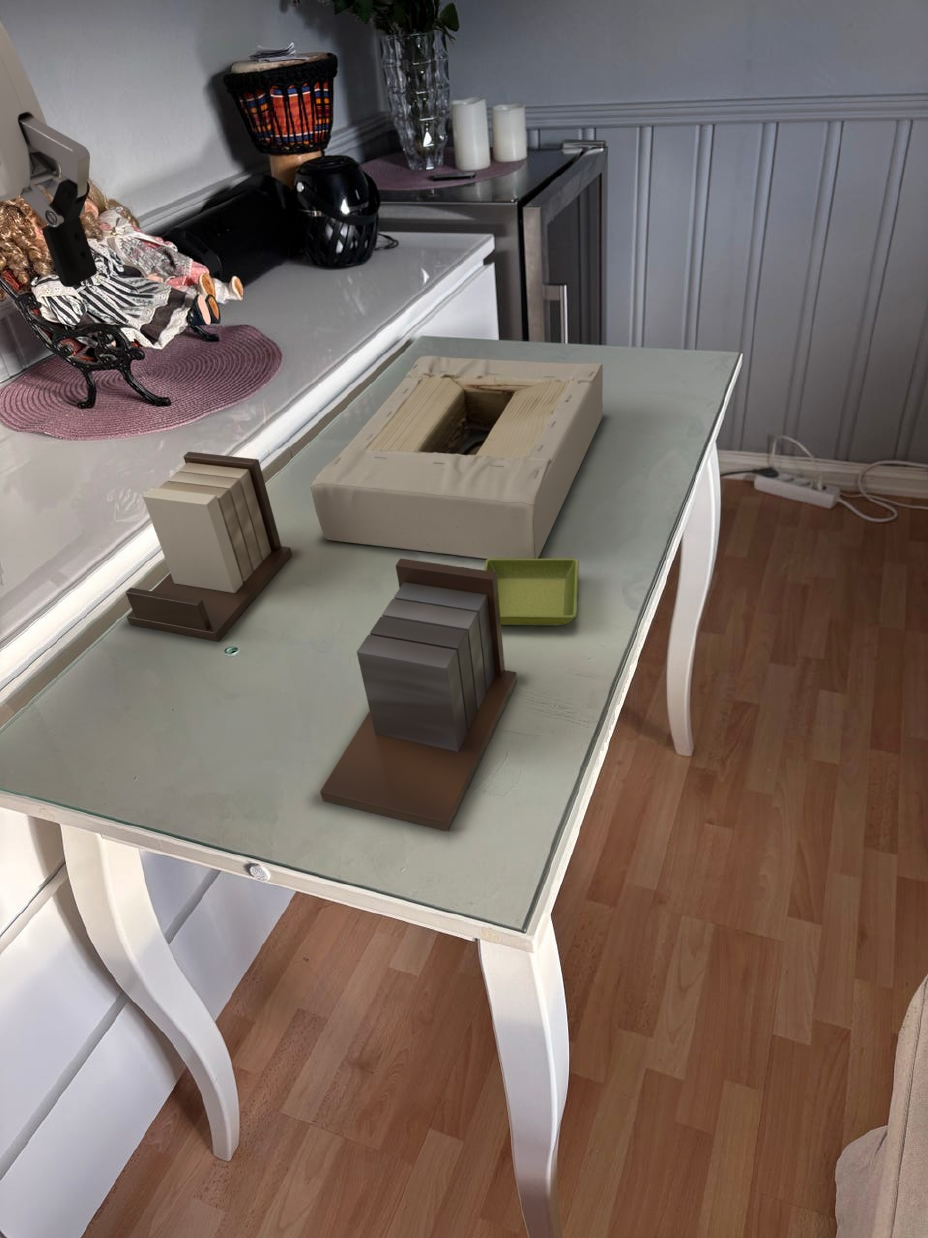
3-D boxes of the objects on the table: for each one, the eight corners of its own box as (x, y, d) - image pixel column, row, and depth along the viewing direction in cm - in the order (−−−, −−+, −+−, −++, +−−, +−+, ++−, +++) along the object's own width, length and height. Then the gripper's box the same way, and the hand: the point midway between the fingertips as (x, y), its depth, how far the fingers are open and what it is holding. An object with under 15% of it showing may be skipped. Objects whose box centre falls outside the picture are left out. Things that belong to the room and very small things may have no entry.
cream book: (235, 593, 87) (206, 504, 81) (174, 583, 89) (141, 496, 83) (243, 583, 88) (216, 494, 82) (183, 574, 90) (152, 487, 84)
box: (424, 406, 117) (320, 543, 94) (418, 348, 112) (306, 477, 89) (604, 419, 111) (539, 570, 87) (605, 358, 106) (537, 500, 82)
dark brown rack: (218, 641, 83) (184, 541, 76) (129, 624, 86) (88, 527, 79) (292, 555, 93) (267, 459, 86) (209, 542, 96) (180, 450, 89)
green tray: (579, 575, 86) (579, 557, 84) (576, 635, 79) (576, 616, 78) (487, 576, 87) (485, 558, 86) (477, 634, 80) (475, 616, 79)
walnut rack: (447, 831, 64) (429, 721, 57) (322, 800, 67) (290, 692, 60) (517, 680, 75) (509, 573, 68) (407, 660, 78) (388, 556, 72)
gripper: (-237, 11, 55) (-101, 293, 66) (-21, -10, 50) (89, 302, 60) (-136, -5, 61) (-26, 258, 71) (70, -26, 55) (156, 264, 66)
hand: (27, 278), depth 66 cm, fingers open, 9 cm apart
